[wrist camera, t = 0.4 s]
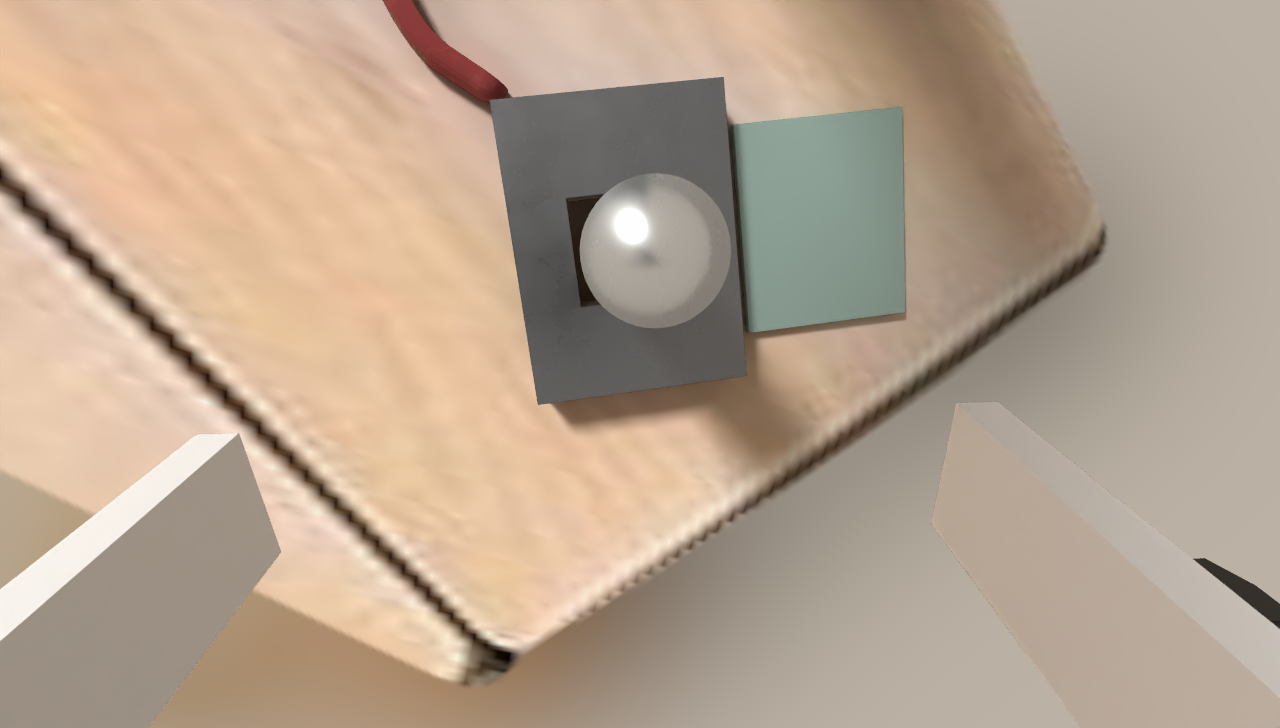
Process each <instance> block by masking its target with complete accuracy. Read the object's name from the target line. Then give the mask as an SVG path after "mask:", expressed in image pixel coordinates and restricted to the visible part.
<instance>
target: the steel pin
mask: <svg viewBox="0 0 1280 728" xmlns="http://www.w3.org/2000/svg"><path fill="white" fill-rule="evenodd" d="M730 259H731V241H730V234H729V231H728V227H727V224H726V221H725V219H724V217H723V214H722V213H721V211H720V209H719V208H718V206H717V205H716V203H715V202H714V201H713V200H712V198H711V197H710V196H709V195H708V194H707V193H706V192H705V191H703V190H702V189H701V188H699V187H698V186H697V185H695V184H693V183H691V182H690V181H688V180H685V179H683V178H680V177H678V176H673V175H669V174H660V173H653V174H644V175H638V176H635V177H632V178H629V179H627V180H625V181H623V182H621V183H619V184H617V185H616V186H614V187H613V188H611V189H610V190H609V191H608V192H606V193H605V194H604V195H603V196H602V197H601V198H600V200H599V201H598V202H597V203H596V204H595V206H594V207H593V209H592V210H591V212H590V214H589V216H588V218H587V220H586V222H585V225H584V228H583V231H582V235H581V240H580V261H581V266H582V271H583V274H584V277H585V280H586V283H587V285H588V287H589V289H590V291H591V292H592V294H593V295H594V297H595V298H596V300H597V301H598V302H599V303H600V304H601V305H602V306H603V307H604V308H605V309H606V310H607V311H608V312H609V313H611V314H612V315H614V316H615V317H617V318H618V319H620V320H622V321H624V322H626V323H629V324H632V325H635V326H639V327H644V328H665V327H670V326H675V325H678V324H681V323H684V322H686V321H688V320H690V319H692V318H693V317H695V316H696V315H698V314H699V313H701V312H702V311H703V310H704V309H705V308H707V307H708V306H709V304H710V303H711V302H712V301H713V300H714V299H715V297H716V296H717V294H718V293H719V292H720V290H721V288H722V286H723V284H724V282H725V279H726V276H727V274H728V270H729V266H730Z"/></svg>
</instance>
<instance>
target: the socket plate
mask: <svg viewBox="0 0 1280 728" xmlns="http://www.w3.org/2000/svg"><path fill="white" fill-rule="evenodd" d="M490 106H491V112H492V119H493V125H494V131H495V138H496V144H497V150H498V157H499V163H500V169H501V175H502V182H503V188H504V194H505V201H506V207H507V213H508V220H509V226H510V232H511V238H512V245H513V251H514V257H515V264H516V270H517V276H518V282H519V289H520V295H521V301H522V308H523V314H524V320H525V327H526V333H527V339H528V345H529V352H530V358H531V364H532V371H533V377H534V383H535V390H536V396H537V402H538V405H540V404H547V403H555V402H562V401H569V400H576V399H583V398H591V397H598V396H605V395H612V394H619V393H627V392H634V391H641V390H648V389H655V388H662V387H670V386H677V385H684V384H691V383H698V382H706V381H713V380H720V379H727V378H734V377H742V376H747V373H746V360H745V347H744V334H743V322H742V309H741V296H740V283H739V270H738V257H737V244H736V231H735V218H734V205H733V192H732V179H731V166H730V153H729V141H728V128H727V115H726V102H725V89H724V77H718V78H708V79H698V80H688V81H678V82H667V83H657V84H647V85H637V86H627V87H616V88H606V89H596V90H586V91H576V92H565V93H555V94H545V95H535V96H524V97H514V98H504V99H494V100H490ZM653 173H660V174H669V175H673V176H678V177H680V178H683V179H685V180H688V181H690V182H691V183H693V184H695V185H697V186H698V187H699V188H701V189H702V190H703V191H705V192H706V193H707V194H708V195H709V196H710V197H711V198H712V200H713V201H714V202H715V203H716V205H717V206H718V208H719V209H720V211H721V213H722V214H723V217H724V219H725V221H726V224H727V227H728V231H729V234H730V241H731V259H730V266H729V270H728V274H727V276H726V279H725V282H724V284H723V286H722V288H721V290H720V292H719V293H718V294H717V296H716V297H715V299H714V300H713V301H712V302H711V303H710V304H709V306H708V307H707V308H705V309H704V310H703V311H702V312H701V313H699V314H698V315H696V316H695V317H693V318H692V319H690V320H688V321H686V322H684V323H681V324H678V325H675V326H670V327H665V328H644V327H639V326H635V325H632V324H629V323H626V322H624V321H622V320H620V319H618V318H617V317H615V316H614V315H612V314H611V313H609V312H608V311H607V310H606V309H605V308H604V307H603V306H602V305H601V304H600V303H599V302H598V301H597V300H591V301H583V302H580V296H579V289H578V282H577V274H576V267H575V260H574V252H573V245H572V238H571V230H570V223H569V216H568V209H567V201H575V200H583V199H592V198H601V197H602V196H603V195H604V194H605V193H606V192H608V191H609V190H610V189H611V188H613V187H614V186H616V185H617V184H619V183H621V182H623V181H625V180H627V179H629V178H632V177H635V176H638V175H644V174H653Z"/></svg>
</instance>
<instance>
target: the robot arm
mask: <svg viewBox="0 0 1280 728" xmlns="http://www.w3.org/2000/svg"><path fill="white" fill-rule="evenodd" d="M931 524H932V526H933V527H934V528H935V530H936V531H937V532H938V534H939V535H940V536H941V538H942V539H943V540H944V542H945V543H946V545H947V546H948V547H949V549H950V550H951V552H952V553H953V554H954V556H955V557H956V558H957V560H958V561H959V563H960V564H961V565H962V567H963V568H964V569H965V571H966V572H967V574H968V575H969V576H970V578H971V579H972V580H973V582H974V583H975V584H976V586H977V587H978V589H979V590H980V591H981V593H982V594H983V595H984V597H985V598H986V600H987V601H988V602H989V604H990V605H991V606H992V608H993V609H994V611H995V612H996V613H997V615H998V616H999V617H1000V619H1001V620H1002V622H1003V623H1004V624H1005V626H1006V627H1007V628H1008V630H1009V631H1010V633H1011V634H1012V635H1013V637H1014V638H1015V639H1016V641H1017V642H1018V644H1019V645H1020V646H1021V647H1022V649H1023V650H1024V652H1025V653H1026V655H1027V656H1028V657H1029V659H1030V660H1031V661H1032V663H1033V664H1034V665H1035V667H1036V668H1037V670H1038V671H1039V672H1040V674H1041V675H1042V676H1043V678H1044V679H1045V681H1046V682H1047V683H1048V685H1049V686H1050V687H1051V689H1052V690H1053V692H1054V693H1055V694H1056V696H1057V697H1058V698H1059V700H1060V701H1061V703H1062V704H1063V705H1064V707H1065V708H1066V709H1067V711H1068V712H1069V714H1070V715H1071V716H1072V717H1073V719H1074V720H1075V722H1076V723H1077V725H1078V726H1079V727H1080V728H1280V604H1279V603H1278V602H1277V601H1275V600H1274V599H1273V598H1271V597H1270V596H1269V595H1267V594H1266V593H1265V592H1263V591H1262V590H1261V589H1259V588H1258V587H1257V586H1255V585H1254V584H1252V583H1250V582H1248V581H1246V580H1244V579H1242V578H1241V577H1238V576H1237V575H1235V574H1233V573H1231V572H1229V571H1227V570H1225V569H1224V568H1222V567H1220V566H1218V565H1216V564H1214V563H1212V562H1211V561H1209V560H1207V559H1205V558H1202V559H1201V558H1200V559H1192V558H1190V556H1188V555H1187V554H1186V553H1185V552H1183V551H1182V550H1181V549H1180V548H1178V547H1177V546H1176V545H1175V544H1173V543H1172V542H1171V541H1170V540H1169V539H1167V538H1166V537H1165V536H1164V535H1162V534H1161V533H1160V532H1159V531H1157V530H1156V529H1155V528H1154V527H1152V526H1151V525H1150V524H1148V523H1147V522H1146V521H1145V520H1143V519H1142V518H1141V517H1140V516H1139V515H1137V514H1136V513H1135V512H1134V511H1133V510H1131V509H1130V508H1129V507H1128V506H1126V505H1125V504H1124V503H1123V502H1121V501H1120V500H1119V499H1118V498H1116V497H1115V496H1114V495H1112V494H1111V493H1110V492H1109V491H1108V490H1106V489H1105V488H1104V487H1103V486H1101V485H1100V484H1099V483H1098V482H1096V481H1095V480H1094V479H1093V478H1091V477H1090V476H1089V475H1088V474H1086V473H1085V472H1084V471H1083V470H1082V469H1080V468H1079V467H1078V466H1077V465H1075V464H1074V463H1073V462H1072V461H1070V460H1069V459H1068V458H1067V457H1065V456H1064V455H1063V454H1062V453H1060V452H1059V451H1058V450H1057V449H1055V448H1054V447H1053V446H1052V445H1050V444H1049V443H1048V442H1047V441H1046V440H1044V439H1043V438H1042V437H1041V436H1039V435H1038V434H1037V433H1036V432H1034V431H1033V430H1032V429H1031V428H1029V427H1028V426H1027V425H1026V424H1024V423H1023V422H1022V421H1021V420H1020V419H1018V418H1017V417H1016V416H1015V415H1013V414H1012V413H1011V412H1009V411H1008V410H1007V409H1006V408H1005V407H1003V406H1002V405H1001V404H1000V403H998V402H976V403H975V402H974V403H956V406H955V411H954V415H953V420H952V425H951V430H950V435H949V439H948V444H947V449H946V454H945V458H944V463H943V468H942V473H941V477H940V482H939V487H938V492H937V497H936V501H935V506H934V511H933V515H932V520H931ZM280 553H281V550H280V547H279V544H278V541H277V539H276V536H275V533H274V530H273V527H272V525H271V522H270V519H269V516H268V513H267V511H266V508H265V505H264V502H263V499H262V497H261V494H260V491H259V488H258V485H257V483H256V480H255V477H254V474H253V471H252V469H251V466H250V463H249V460H248V457H247V455H246V452H245V449H244V446H243V443H242V441H241V438H240V435H239V433H229V434H205V435H196V436H194V437H193V438H192V439H190V440H189V441H188V442H187V443H185V444H184V445H183V446H182V447H180V448H179V449H178V450H177V451H175V452H174V453H173V454H171V455H170V456H169V457H168V458H166V459H165V460H164V461H163V462H161V463H160V464H159V465H157V466H156V467H155V468H154V469H152V470H151V471H150V472H149V473H147V474H146V475H145V476H144V477H142V478H141V479H140V480H138V481H137V482H136V483H135V484H133V485H132V486H131V487H130V488H128V489H127V490H126V491H125V492H123V493H122V494H121V495H119V496H118V497H117V498H116V499H114V500H113V501H112V502H111V503H109V504H108V505H107V506H106V507H104V508H103V509H102V510H100V511H99V512H98V513H97V514H95V515H94V516H93V517H92V518H90V519H89V520H88V521H86V522H85V523H84V524H83V525H81V526H80V527H79V528H78V529H76V530H75V531H74V532H73V533H71V534H70V535H69V536H68V537H66V538H65V539H64V540H62V541H61V542H60V543H59V544H57V545H56V546H55V547H54V548H52V549H51V550H50V551H49V552H47V553H46V554H45V555H43V556H42V557H41V558H40V559H38V560H37V561H36V562H35V563H33V564H32V565H31V566H29V567H28V568H27V569H26V570H24V571H23V572H22V573H21V574H20V575H18V576H17V577H16V578H14V579H13V580H12V581H10V582H9V583H8V584H7V585H5V586H4V587H3V588H2V589H0V728H149V727H150V726H151V724H152V723H153V722H154V720H155V719H156V718H157V716H158V715H159V714H160V712H161V711H162V710H163V708H164V707H165V706H166V704H167V703H168V702H169V700H170V699H171V697H172V696H173V695H174V694H175V692H176V691H177V690H178V688H179V687H180V686H181V684H182V683H183V682H184V680H185V679H186V678H187V676H188V675H189V674H190V672H191V671H192V670H193V668H194V667H195V666H196V664H197V663H198V662H199V660H200V659H201V658H202V656H203V655H204V654H205V652H206V651H207V650H208V649H209V647H210V646H211V644H212V643H213V642H214V641H215V639H216V638H217V637H218V635H219V634H220V633H221V631H222V630H223V629H224V627H225V626H226V625H227V623H228V622H229V621H230V619H231V618H232V617H233V615H234V614H235V613H236V611H237V610H238V609H239V607H240V606H241V605H242V603H243V602H244V601H245V599H246V598H247V597H248V595H249V594H250V593H251V591H252V590H253V589H254V587H255V586H256V585H257V583H258V582H259V581H260V579H261V578H262V577H263V575H264V574H265V573H266V571H267V570H268V569H269V568H270V566H271V565H272V564H273V562H274V561H275V560H276V558H277V557H278V556H279V554H280Z"/></svg>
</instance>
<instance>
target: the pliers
mask: <svg viewBox="0 0 1280 728" xmlns="http://www.w3.org/2000/svg"><path fill="white" fill-rule="evenodd" d="M383 2H384V4H385V6H386V7H387V9H388V11H389V13H390V15H391V17H392V19H393V20H394V22H395V23H396V25H397V27H398V28H399V30H400V31H401V33H402V34H403V36H404V37H405V39H406V40H407V42H408V43H409V44H410V46H411V47H412V48H413V50H414V51H415V52H416V53H417V55H418V56H419V57H420V58H421V59H422V60H423V61H424V62H425V63H426V64H427V65H428V66H429V67H431V68H432V69H434V70H435V71H437V72H438V73H440V74H441V75H443V76H445V77H446V78H448V79H449V80H451V81H452V82H454V83H455V84H457V85H458V86H460V87H462V88H463V89H465V90H466V91H468V92H469V93H471V94H472V95H474V96H475V97H477V98H478V99H480V100H483V101H486V102H490V100H494V99H503V98H504V97H505V96H506V94H507V92H508V89H507V88H506V86H505V85H504V84H502V83H501V82H500V81H499V80H498V79H496V78H495V77H494V76H492V75H491V74H490V73H488V72H487V71H486V70H484V69H483V68H481V67H480V66H478V65H477V64H475V63H474V62H472V61H471V60H469V59H468V58H467V57H465V56H464V55H462V54H461V53H459V52H458V51H456V50H455V49H453V48H452V47H450V46H449V45H448V44H446V43H445V42H444V41H443V40H442V39H441V38H439V37H438V36H437V35H436V34H435V33H434V32H433V31H432V29H431V28H430V27H429V26H428V25H427V23H426V22H425V20H424V19H423V17H422V16H421V14H420V12H419V10H418V8H417V6H416V4H415V3H414V1H413V0H383Z"/></svg>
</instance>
